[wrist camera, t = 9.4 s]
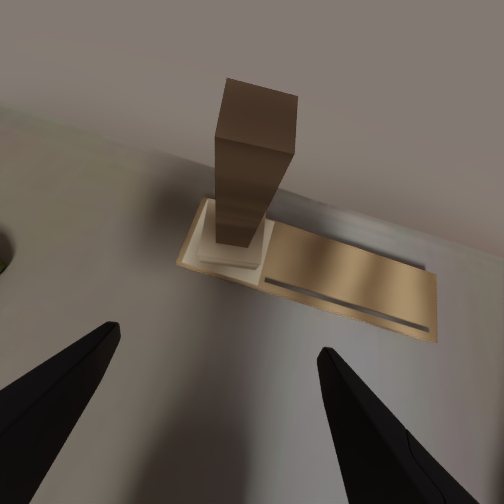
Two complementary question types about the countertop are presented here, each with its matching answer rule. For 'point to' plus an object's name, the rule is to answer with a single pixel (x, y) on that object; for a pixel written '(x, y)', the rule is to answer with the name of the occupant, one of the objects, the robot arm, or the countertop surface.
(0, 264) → the gun
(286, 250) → the oak plank
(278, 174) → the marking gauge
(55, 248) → the countertop surface
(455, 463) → the countertop surface
